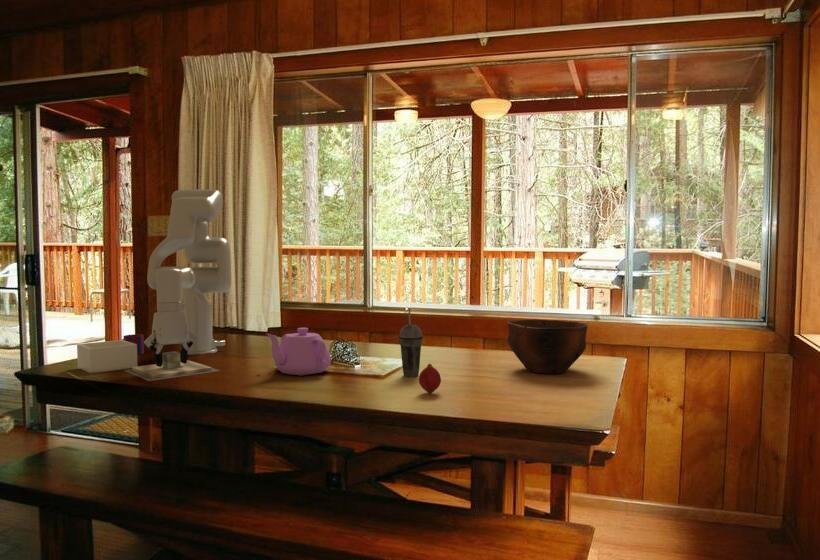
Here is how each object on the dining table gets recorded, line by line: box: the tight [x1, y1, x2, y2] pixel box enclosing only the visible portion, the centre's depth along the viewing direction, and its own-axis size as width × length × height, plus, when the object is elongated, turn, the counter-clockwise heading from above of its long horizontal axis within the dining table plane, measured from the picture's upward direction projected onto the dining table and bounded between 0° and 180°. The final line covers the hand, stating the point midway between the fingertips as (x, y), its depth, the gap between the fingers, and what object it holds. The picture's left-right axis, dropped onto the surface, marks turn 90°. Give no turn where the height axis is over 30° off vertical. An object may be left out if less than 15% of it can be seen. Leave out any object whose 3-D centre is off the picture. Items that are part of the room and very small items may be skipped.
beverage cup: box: [398, 309, 424, 378], centre depth 194 cm, size 7×7×20 cm
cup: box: [121, 333, 145, 356], centre depth 236 cm, size 7×10×7 cm
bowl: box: [506, 319, 589, 374], centre depth 201 cm, size 25×25×15 cm
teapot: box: [266, 327, 332, 377], centre depth 199 cm, size 22×22×14 cm
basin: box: [76, 339, 138, 374], centre depth 208 cm, size 14×14×8 cm
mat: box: [122, 367, 221, 382], centre depth 202 cm, size 22×22×1 cm
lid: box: [131, 351, 213, 379], centre depth 201 cm, size 18×18×6 cm
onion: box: [418, 363, 442, 394], centre depth 170 cm, size 6×6×8 cm
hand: (171, 364), depth 201 cm, fingers open, 7 cm apart
